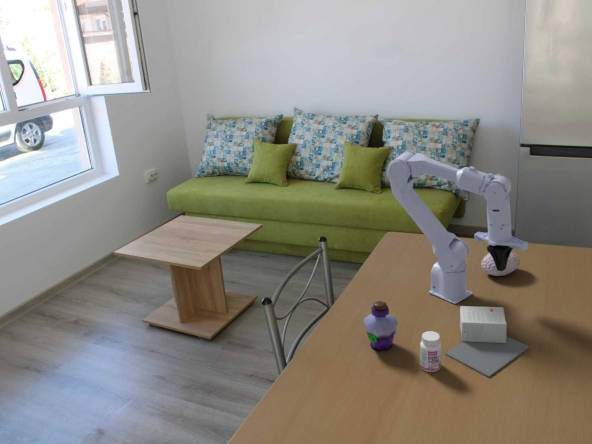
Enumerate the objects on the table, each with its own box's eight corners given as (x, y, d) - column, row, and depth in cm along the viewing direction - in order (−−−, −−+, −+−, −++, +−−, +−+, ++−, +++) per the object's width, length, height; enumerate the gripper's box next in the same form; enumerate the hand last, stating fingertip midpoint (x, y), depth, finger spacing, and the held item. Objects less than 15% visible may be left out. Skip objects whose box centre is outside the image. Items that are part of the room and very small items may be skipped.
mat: (445, 354, 132) (445, 353, 132) (485, 328, 141) (485, 327, 141) (488, 377, 123) (488, 376, 123) (528, 348, 132) (529, 346, 132)
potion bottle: (360, 352, 136) (357, 310, 132) (368, 333, 143) (366, 292, 139) (394, 357, 133) (393, 314, 128) (401, 337, 140) (401, 296, 136)
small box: (460, 341, 136) (506, 344, 133) (461, 322, 134) (507, 324, 131) (459, 324, 143) (502, 326, 140) (460, 305, 141) (503, 307, 138)
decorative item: (472, 262, 165) (494, 236, 163) (483, 269, 174) (504, 245, 172) (495, 281, 159) (518, 255, 158) (505, 287, 168) (528, 262, 166)
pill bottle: (429, 375, 126) (429, 344, 123) (415, 364, 130) (415, 334, 127) (445, 368, 128) (446, 337, 124) (431, 357, 132) (431, 327, 128)
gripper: (466, 222, 146) (469, 268, 151) (515, 232, 135) (517, 281, 139) (482, 214, 150) (485, 259, 155) (531, 223, 139) (533, 271, 143)
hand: (501, 269), depth 147 cm, fingers closed
